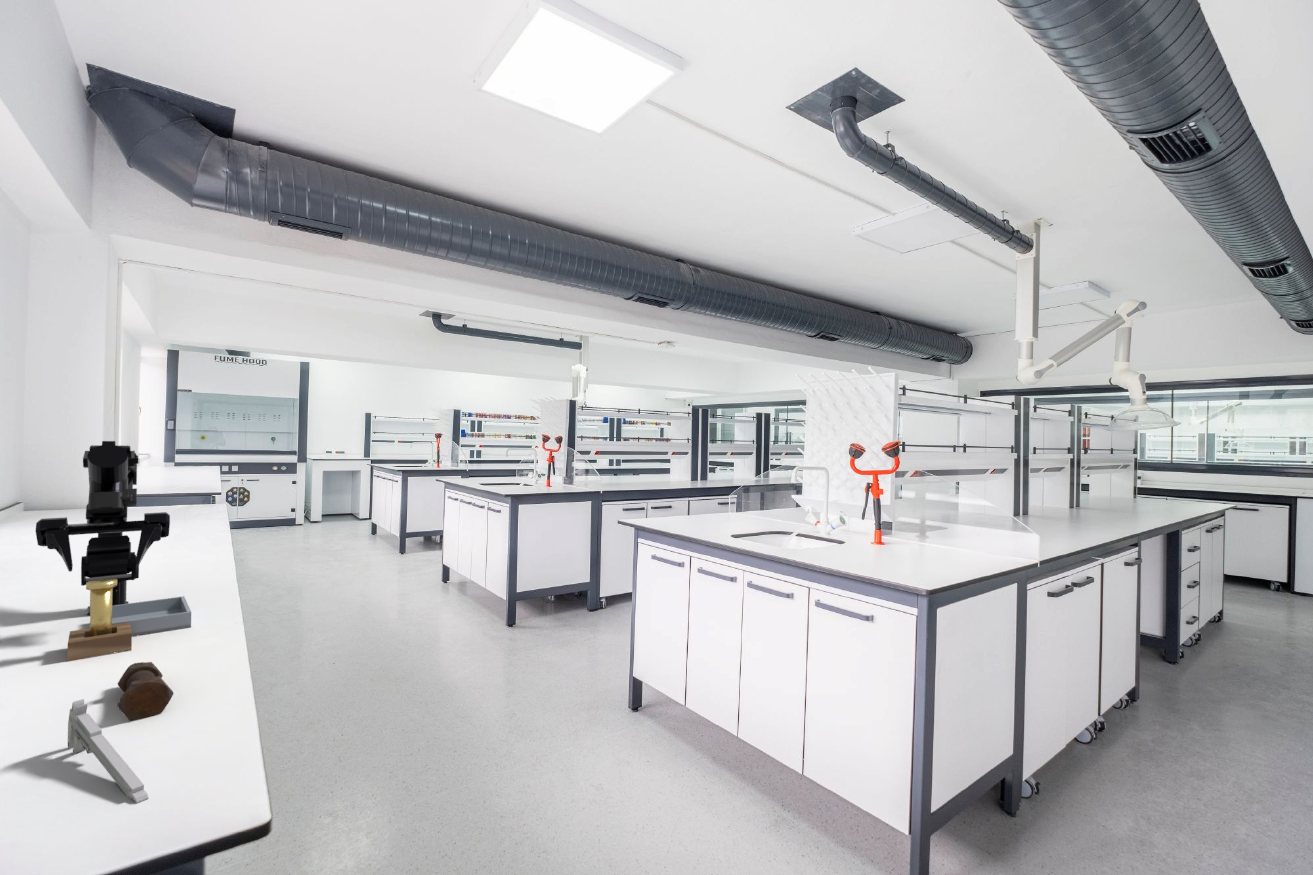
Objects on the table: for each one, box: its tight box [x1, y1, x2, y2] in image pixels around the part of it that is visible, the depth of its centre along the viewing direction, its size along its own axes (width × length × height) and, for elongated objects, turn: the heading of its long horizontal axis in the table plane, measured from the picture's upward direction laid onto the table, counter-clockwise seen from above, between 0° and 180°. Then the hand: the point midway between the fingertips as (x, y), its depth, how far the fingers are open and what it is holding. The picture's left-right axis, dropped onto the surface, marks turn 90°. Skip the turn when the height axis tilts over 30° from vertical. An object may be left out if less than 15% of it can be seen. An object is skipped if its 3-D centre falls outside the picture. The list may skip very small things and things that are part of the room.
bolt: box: [116, 661, 175, 722], centre depth 85 cm, size 6×5×15 cm
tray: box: [112, 595, 192, 637], centre depth 118 cm, size 15×13×3 cm
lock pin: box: [85, 579, 117, 637], centre depth 104 cm, size 4×4×12 cm
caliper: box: [67, 698, 149, 804], centre depth 67 cm, size 20×1×6 cm, turn 60°
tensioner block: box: [66, 622, 133, 662], centre depth 104 cm, size 8×8×3 cm
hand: (104, 567), depth 110 cm, fingers open, 9 cm apart
